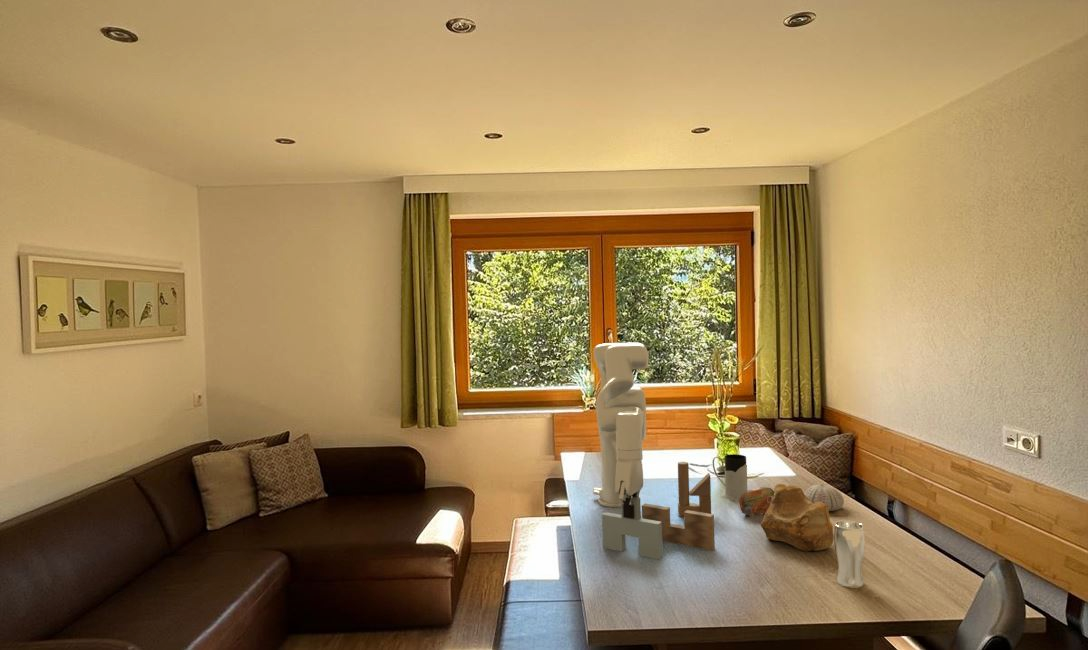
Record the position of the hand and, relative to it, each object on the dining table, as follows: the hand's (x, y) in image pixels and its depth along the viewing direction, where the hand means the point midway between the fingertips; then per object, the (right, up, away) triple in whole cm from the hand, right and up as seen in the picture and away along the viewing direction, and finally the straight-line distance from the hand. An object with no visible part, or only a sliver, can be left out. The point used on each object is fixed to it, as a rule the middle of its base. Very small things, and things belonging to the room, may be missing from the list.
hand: (631, 515), depth 185 cm
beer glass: (+52, -10, -24) cm, 59 cm away
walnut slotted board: (+15, -10, +6) cm, 19 cm away
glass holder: (+44, -8, +51) cm, 67 cm away
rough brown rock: (+49, -9, +5) cm, 50 cm away
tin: (+47, -9, +30) cm, 57 cm away
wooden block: (+26, -9, +30) cm, 41 cm away
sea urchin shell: (+71, -8, +34) cm, 79 cm away
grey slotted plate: (0, -11, 0) cm, 11 cm away
